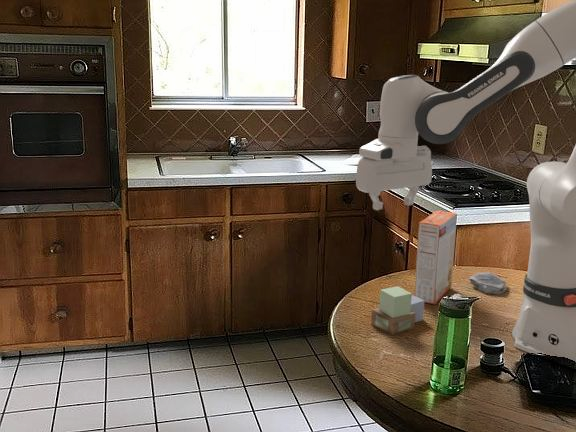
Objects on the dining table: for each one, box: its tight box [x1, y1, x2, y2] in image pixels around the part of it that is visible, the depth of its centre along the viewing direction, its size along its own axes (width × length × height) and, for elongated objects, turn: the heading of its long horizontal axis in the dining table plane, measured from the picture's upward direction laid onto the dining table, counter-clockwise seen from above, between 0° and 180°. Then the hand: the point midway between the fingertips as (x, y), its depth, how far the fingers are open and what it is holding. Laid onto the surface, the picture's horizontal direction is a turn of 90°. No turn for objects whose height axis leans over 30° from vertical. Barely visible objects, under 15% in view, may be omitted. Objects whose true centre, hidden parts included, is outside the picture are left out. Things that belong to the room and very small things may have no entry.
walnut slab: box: [370, 307, 416, 336], centre depth 150 cm, size 7×7×4 cm
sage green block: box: [379, 286, 413, 318], centre depth 148 cm, size 5×5×5 cm
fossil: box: [468, 271, 508, 295], centre depth 175 cm, size 11×4×10 cm
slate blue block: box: [411, 294, 425, 323], centre depth 154 cm, size 5×5×5 cm
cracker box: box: [413, 210, 458, 305], centre depth 167 cm, size 14×6×21 cm, turn 149°
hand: (393, 207), depth 151 cm, fingers open, 8 cm apart
